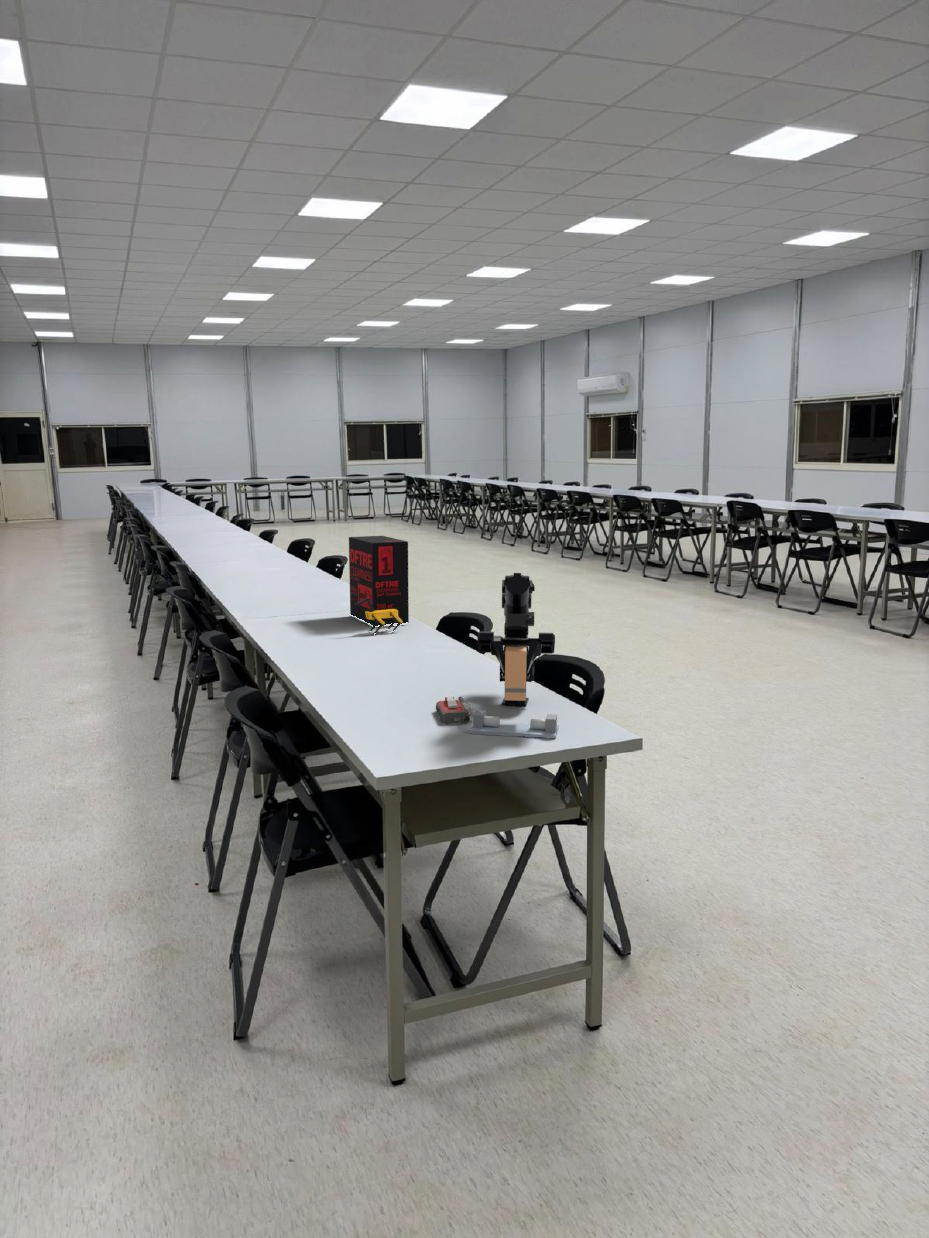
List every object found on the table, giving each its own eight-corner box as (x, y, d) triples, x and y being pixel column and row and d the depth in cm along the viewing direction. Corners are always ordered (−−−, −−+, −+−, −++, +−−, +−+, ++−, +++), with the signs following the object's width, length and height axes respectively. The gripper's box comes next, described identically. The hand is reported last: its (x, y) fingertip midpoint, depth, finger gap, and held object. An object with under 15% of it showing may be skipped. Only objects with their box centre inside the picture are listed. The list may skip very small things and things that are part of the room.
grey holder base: (476, 723, 215) (476, 707, 215) (558, 728, 212) (558, 712, 211) (470, 733, 208) (470, 717, 207) (555, 738, 204) (556, 722, 203)
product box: (350, 616, 355) (348, 537, 349) (383, 613, 362) (382, 535, 356) (373, 628, 332) (372, 543, 326) (408, 624, 338) (408, 541, 332)
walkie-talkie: (478, 725, 215) (464, 702, 235) (478, 707, 214) (464, 686, 234) (442, 726, 214) (431, 704, 233) (442, 709, 213) (431, 687, 232)
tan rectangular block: (504, 694, 216) (505, 646, 214) (525, 694, 216) (526, 646, 213) (504, 700, 211) (505, 651, 209) (525, 700, 211) (526, 651, 208)
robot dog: (351, 634, 321) (351, 597, 318) (396, 629, 329) (396, 594, 327) (358, 637, 316) (357, 600, 313) (403, 632, 325) (402, 596, 322)
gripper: (478, 599, 213) (475, 654, 205) (555, 600, 212) (556, 655, 203) (479, 624, 223) (476, 678, 214) (553, 625, 221) (554, 679, 213)
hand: (515, 672), depth 211 cm, fingers closed on tan rectangular block, 5 cm apart
